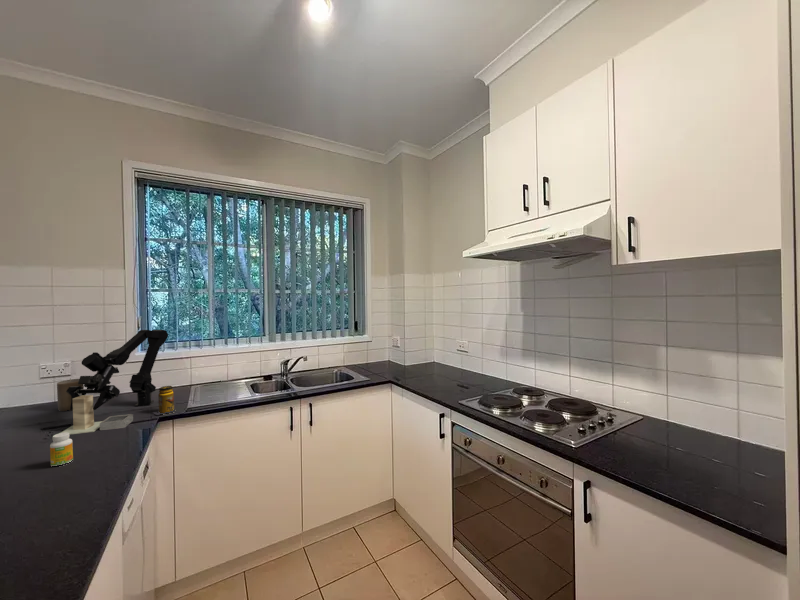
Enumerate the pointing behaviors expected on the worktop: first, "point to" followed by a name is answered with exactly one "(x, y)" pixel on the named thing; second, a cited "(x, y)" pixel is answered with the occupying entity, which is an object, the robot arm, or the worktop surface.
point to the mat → (90, 429)
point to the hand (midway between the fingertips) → (82, 409)
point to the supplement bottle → (61, 449)
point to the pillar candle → (65, 393)
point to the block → (83, 412)
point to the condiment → (166, 399)
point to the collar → (116, 422)
